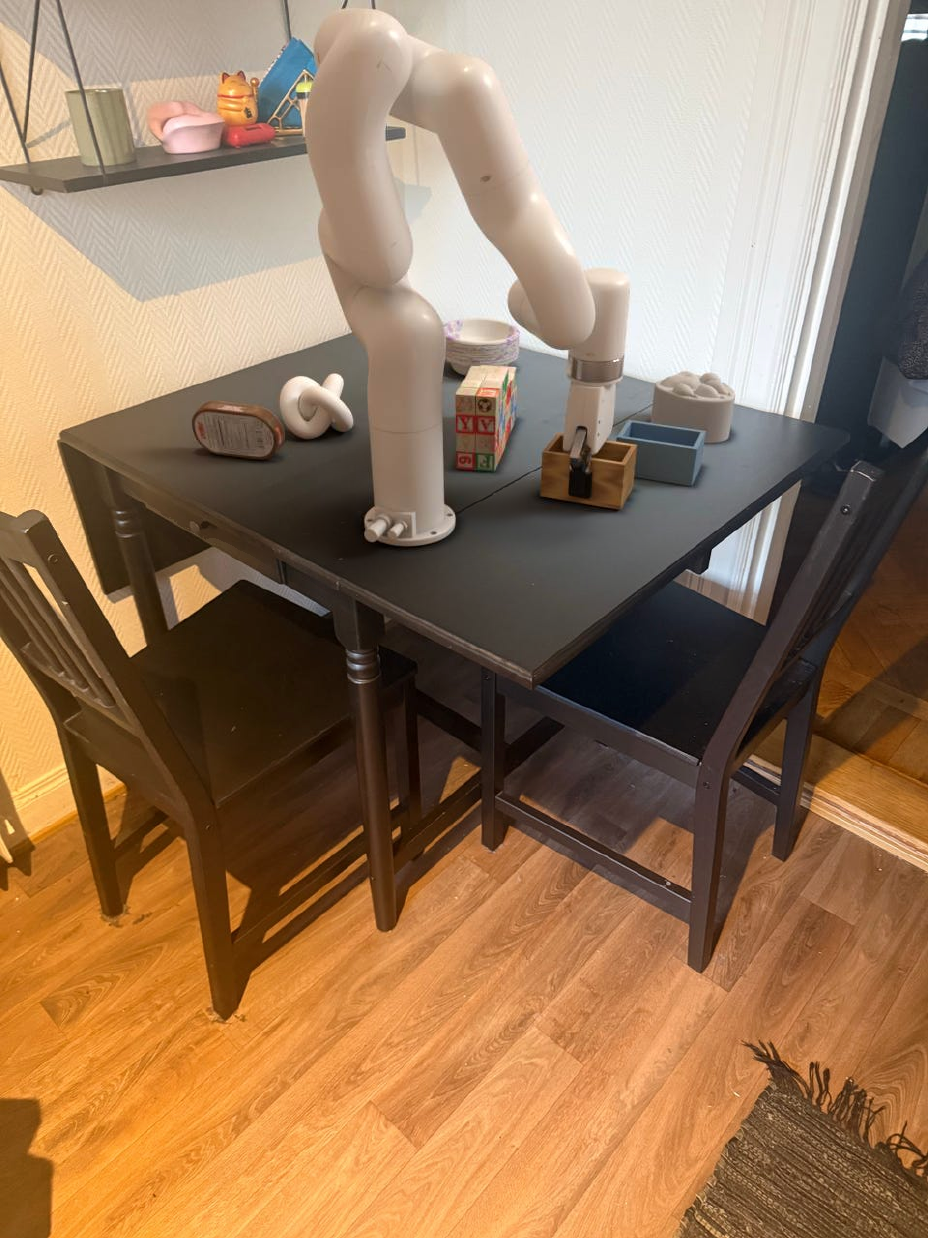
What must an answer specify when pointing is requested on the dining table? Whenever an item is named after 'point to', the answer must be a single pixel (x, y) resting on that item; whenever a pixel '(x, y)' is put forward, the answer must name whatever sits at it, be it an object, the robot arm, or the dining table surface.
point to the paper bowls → (480, 343)
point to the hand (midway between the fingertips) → (587, 484)
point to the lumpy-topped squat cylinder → (694, 404)
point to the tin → (238, 430)
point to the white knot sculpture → (314, 406)
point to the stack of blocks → (484, 416)
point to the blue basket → (665, 451)
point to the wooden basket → (608, 476)
